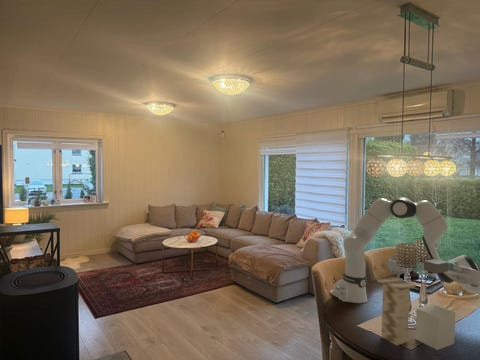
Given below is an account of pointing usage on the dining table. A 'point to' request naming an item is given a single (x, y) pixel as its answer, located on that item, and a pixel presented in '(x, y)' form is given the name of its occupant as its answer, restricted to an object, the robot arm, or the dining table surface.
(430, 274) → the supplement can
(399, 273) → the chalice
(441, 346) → the grey pedestal
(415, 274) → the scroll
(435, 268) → the grey boxy piece
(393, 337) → the beige pillar
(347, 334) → the dining table surface
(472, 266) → the robot arm
